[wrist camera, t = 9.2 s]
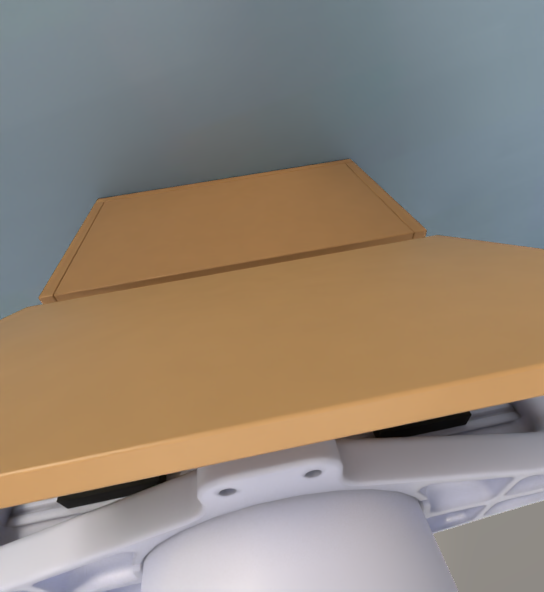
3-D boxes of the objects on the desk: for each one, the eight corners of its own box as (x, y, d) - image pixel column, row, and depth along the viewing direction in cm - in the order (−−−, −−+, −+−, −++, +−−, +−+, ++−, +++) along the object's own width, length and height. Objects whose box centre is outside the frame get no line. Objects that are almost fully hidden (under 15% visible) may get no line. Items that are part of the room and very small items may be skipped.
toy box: (97, 198, 13) (25, 316, 8) (350, 158, 14) (441, 242, 9) (183, 379, 22) (176, 496, 16) (339, 349, 22) (382, 452, 17)
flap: (30, 318, 8) (26, 306, 8) (438, 245, 9) (438, 234, 9) (-547, 625, 2) (-589, 594, 2) (878, 328, 3) (891, 294, 3)
